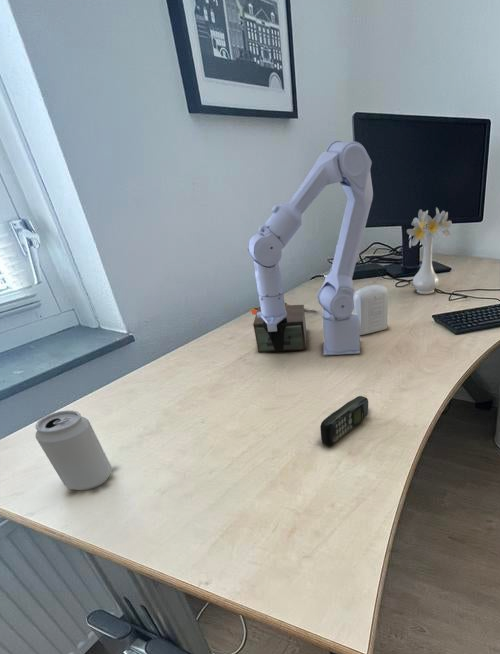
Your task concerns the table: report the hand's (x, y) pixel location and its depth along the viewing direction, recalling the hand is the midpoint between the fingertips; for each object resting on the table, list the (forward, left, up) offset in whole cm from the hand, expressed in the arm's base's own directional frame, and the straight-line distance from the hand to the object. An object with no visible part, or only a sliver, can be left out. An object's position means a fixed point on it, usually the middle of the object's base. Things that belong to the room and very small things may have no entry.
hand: (279, 349), depth 109 cm
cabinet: (0, -13, -3) cm, 13 cm away
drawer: (0, -9, -2) cm, 9 cm away
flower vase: (-48, -51, -3) cm, 70 cm away
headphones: (+2, -32, -3) cm, 32 cm away
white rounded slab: (-25, -17, -3) cm, 31 cm away
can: (+30, +45, -3) cm, 54 cm away
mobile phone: (-15, +34, -3) cm, 37 cm away
